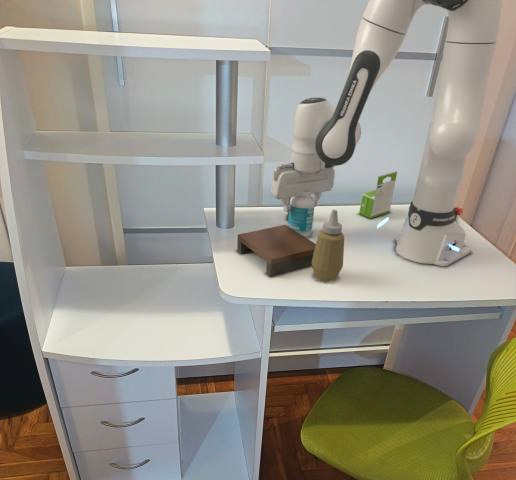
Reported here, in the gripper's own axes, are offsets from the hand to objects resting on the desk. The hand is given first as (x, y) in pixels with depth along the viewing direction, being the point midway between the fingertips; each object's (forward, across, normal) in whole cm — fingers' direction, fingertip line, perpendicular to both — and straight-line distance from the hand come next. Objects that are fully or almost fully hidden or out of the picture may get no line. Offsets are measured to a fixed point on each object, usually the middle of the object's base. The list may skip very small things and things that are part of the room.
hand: (300, 208), depth 149 cm
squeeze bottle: (+8, -10, -26) cm, 29 cm away
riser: (+8, -15, -11) cm, 20 cm away
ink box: (+8, +33, +2) cm, 34 cm away
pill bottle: (+8, 0, 0) cm, 8 cm away
